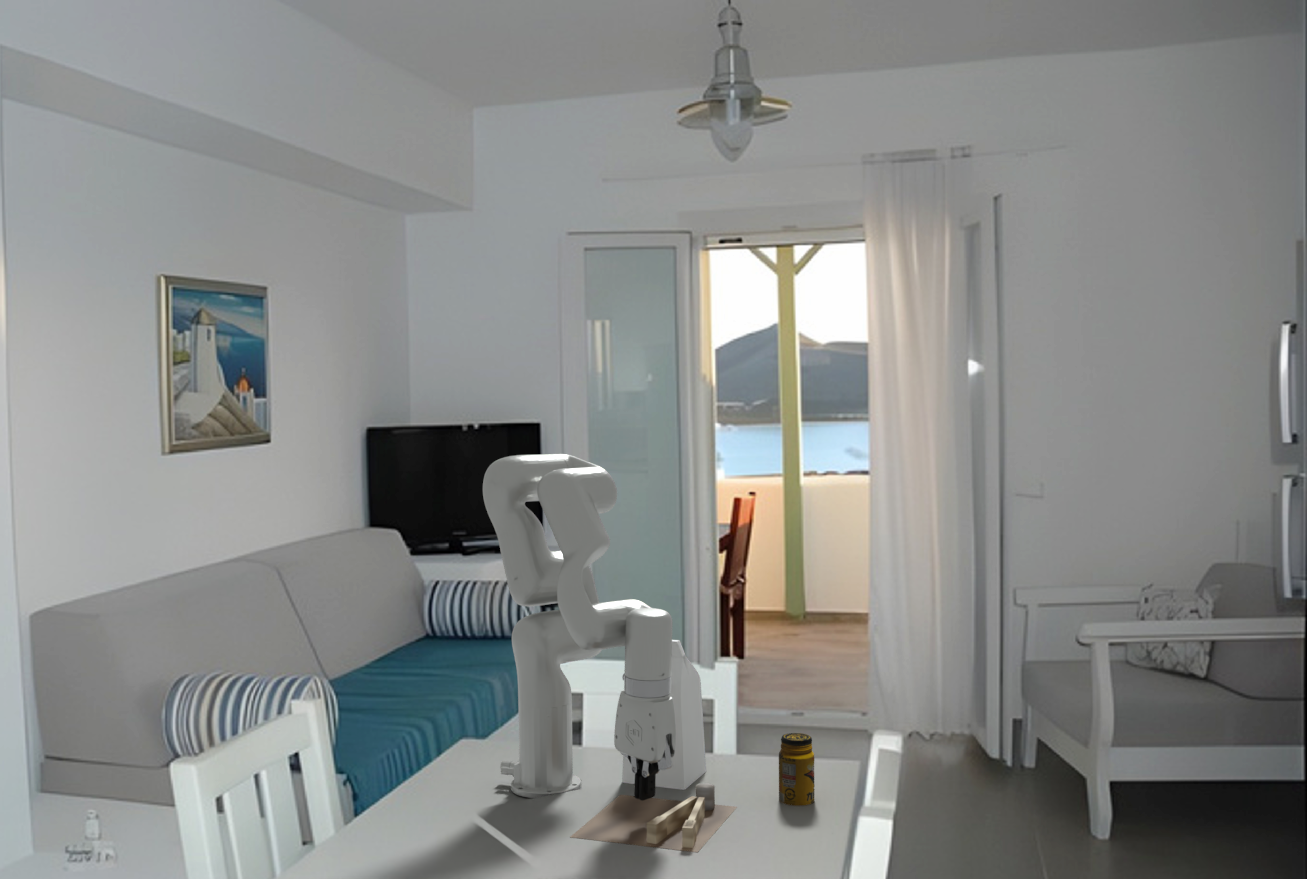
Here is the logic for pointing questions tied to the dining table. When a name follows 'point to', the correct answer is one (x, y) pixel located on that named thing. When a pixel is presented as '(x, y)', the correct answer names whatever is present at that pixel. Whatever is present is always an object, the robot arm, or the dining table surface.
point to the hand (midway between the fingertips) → (644, 797)
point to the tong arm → (669, 821)
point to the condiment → (796, 770)
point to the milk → (681, 727)
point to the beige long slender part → (698, 813)
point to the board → (630, 823)
